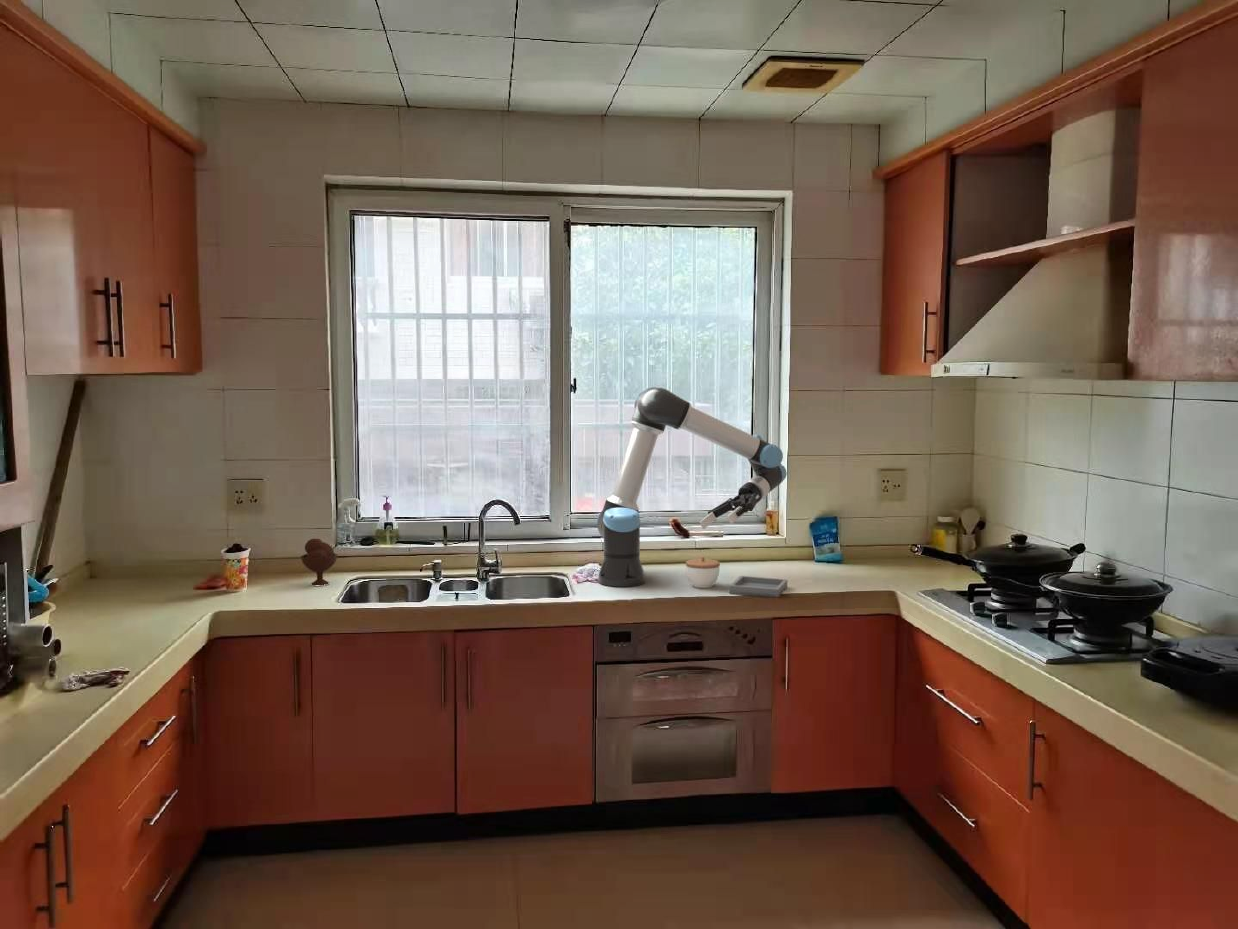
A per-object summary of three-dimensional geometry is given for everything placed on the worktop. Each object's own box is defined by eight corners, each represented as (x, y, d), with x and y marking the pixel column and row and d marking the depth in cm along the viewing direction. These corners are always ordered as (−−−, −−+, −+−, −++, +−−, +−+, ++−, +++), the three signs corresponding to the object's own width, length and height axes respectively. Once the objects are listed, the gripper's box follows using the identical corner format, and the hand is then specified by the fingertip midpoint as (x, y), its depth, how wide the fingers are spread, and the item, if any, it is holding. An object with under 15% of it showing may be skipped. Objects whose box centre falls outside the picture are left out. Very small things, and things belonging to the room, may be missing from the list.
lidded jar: (719, 582, 288) (719, 553, 287) (719, 590, 277) (720, 560, 277) (686, 582, 289) (686, 553, 288) (685, 589, 278) (685, 559, 278)
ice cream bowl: (324, 589, 279) (322, 541, 278) (294, 586, 282) (293, 540, 281) (344, 582, 289) (343, 536, 288) (316, 580, 292) (314, 534, 291)
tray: (729, 593, 272) (729, 585, 272) (740, 583, 286) (740, 575, 286) (777, 597, 267) (778, 589, 267) (787, 587, 281) (787, 579, 281)
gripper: (785, 495, 292) (747, 528, 279) (733, 506, 312) (696, 537, 299) (774, 475, 291) (736, 507, 278) (723, 487, 310) (685, 517, 298)
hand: (715, 522), depth 289 cm, fingers open, 13 cm apart
